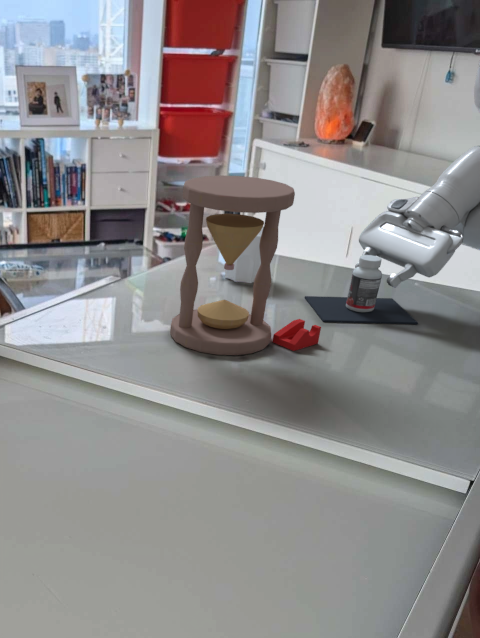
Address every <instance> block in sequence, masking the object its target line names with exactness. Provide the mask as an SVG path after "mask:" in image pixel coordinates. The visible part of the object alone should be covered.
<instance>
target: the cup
mask: <svg viewBox="0 0 480 638" xmlns="http://www.w3.org/2000/svg"><path fill="white" fill-rule="evenodd" d="M263 228H264V225H263V227H262V229H261V231H260V232H259V234H258V235H257V236H256V237H255V238H254V240H253V241H252V242H251V243H250V245H249V246H248V247H247V248H246V249H245V250H244V251H243V253H242V254H241V255H240V256H239V257H238V258H237V260H236V261H235V262H234V263H233V264H234V269H233V270H226V269H224V278H225V279H229V280H231V281H233V282H235V283H238V282H239V283H246V284H252V283H254V279H255V276H256V274H257V272H258V269H259V267H260V265H261V259H260V249H259V244H260V238H261V235H262V231H263Z"/></svg>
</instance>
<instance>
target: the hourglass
mask: <svg viewBox="0 0 480 638" xmlns="http://www.w3.org/2000/svg"><path fill="white" fill-rule="evenodd" d="M295 196H296V192H295V189H294V187H292V186H290V185H288V184H286V183H283V182H279V181H276V180H272V179H267V178H260V177H255V176H252V177H251V176H244V175H243V176H241V175H205V176H198V177H192V178H189V179H186V180H185V181H184V184H183V187H182V198H183V200H184V201H186V202H187V203H188V204H190V205H189V214H188V225H187V230H186V234H185V237H184V245H183V251H184V255H185V256H184V257H185V263H186V264H185V265H186V266H185V269H184V272H183V275H182V277H181V280H180V286H179V294H180V295H179V296H180V306H179V313H178V314H176V315H175V316H173V318H172V319H171V324H170V329H169V335H170V336H171V338H172V339H173V340H174V342H175V343H177V344H179V345H180V346H182V347H184V348H187V349H190V350H193V351H195V352H199V353H203V354H209V355H210V354H211V355H216V356H242V355H249V354H251V355H252V354H254V353H257V352H259V351H263V350H264V349H265V348H267V346H268V345H269V344H270V343H271V340H272V339H271V338H272V328H271V325H269V324H268V323H267V321H265V320H264V319H265V312H266V306H267V305H266V304H267V300H268V297H269V295H270V291H271V287H272V273H271V263H272V261H273V259H274V256H275V254H276V251H277V249H278V244H279V226H280V219H281V213H282V211H284V210H288V209H290V208H291V207H292V206H293V205H294V201H295ZM205 209H210V210H215V211H221V212H232V213H216V214H210V215H208V216H206V218H205V221H206V222H205V223H206V227H207V229H208V231H209V233H210V234H211V238H212V239H213V241H214V244H215V246H216V248H217V249H218V251H219V253H220V255H221V257H222V259H223V260H224V262H225V263H224V264H223V265H224V266H223V270H225V269H226V270H233V269H234V264H233V263H234V262H235V261H236V260H237V258H238V257H239V256H240V255H241V254H242V253H243V251H244V250H245V249H246V248H247V247H248V246H249V245H250V243H251V242H252V241H253V240H254V238H255V237H256V236H257V235H258V234H259V232H260V231H261V229H262V227H263V226H264V228H263V231H262V235H261V238H260V244H259V249H260V259H261V265H260V267H259V269H258V272H257V274H256V276H255V279H254V282H253V284H252V285H253V286H252V288H253V289H252V305H251V311H249V310H248V309H246V308H245V307H242V306H240V305H238V304H235V303H234V302H232V301H229V300H227V299H221V300H217V301H211V302H207V303H204V304H201V305H199V306H198V307H197V309H194V308H195V302H196V298H197V294H198V289H199V278H198V271H197V264H198V261H199V258H200V256H201V253H202V250H203V241H204V237H203V236H204V235H203V232H204V231H203V225H204V215H205V213H204V212H205ZM239 213H245V214H239ZM246 213H249V214H257V213H258V214H260V213H262V214H263V213H265V218H264V220H262V219H261V218H259V217H255V216H251V215H247V214H246Z"/></svg>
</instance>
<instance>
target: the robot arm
mask: <svg viewBox="0 0 480 638" xmlns="http://www.w3.org/2000/svg"><path fill="white" fill-rule="evenodd" d="M473 99H474V105H475V107H476V110H477V111H478V113H479V114H480V59H479V61H478V66H477V70H476V76H475V79H474V87H473ZM386 208H387V209H386V210H385V211H383V212H381V213H380V214H378V215H377V216H376V217H375V218H374V219H373V220H372V221H371V222H370V223H369V224H368V225H367V226H366V227H365V228H364V229H363V231H361V233H360V234H359V236H358V243H359V245H360V246H361V248H362V249H363V251H362V254H361V256H362V255H372V256H377V257H380V258H381V259H382V260H385V261H387V262H391V263H392V264H395V265H398V266H400V267H402V268H403V269H402V270H401V271H398V272H397V273H393V272H392V273H391V275H390V276H389V277H387V278H386V283H387V284H388V286H389V287H392V288H394V289H395V288H397V287H398V286H399V285H400V284H402V283H404V282H405V281H407V280H409V279H412V278H413V277H414V276H415V275H416V274H419V275H420V276H421V275H422V276H424V277H427V278H432V277H435V276H436V275H438V274H439V273H440V272H441V271H442V270H443V268H444V267H445V266H446V265H447V263H448V262H449V261H450V260H451V258H452V257H453V256H454V254H455V252H456V250H457V249H459V247H461V245H462V246H466V247H469V248H471V249H474V250H477V251H480V145H474V146H472V147H470V148H468V149H467V150H466V151H464V152H462V154H461V155H459V156H458V157H457V158H456V159H455V160H454V161H452V162H451V164H449V165H448V166H447V168H446V169H444V171H443V172H441V174H440V175H439V176H438V178H437V180H436V181H435V183H434V184H433V185H432V186H430V187H429V188H427V189H426V190H424V191H423V192H422V194H421V195H420V196H412V197H408V198H396V199H392V200H391V201H390V202H389V203H388V204H387V206H386ZM357 267H359V263H358V262H357V263H355V265H354V269H355V268H357Z"/></svg>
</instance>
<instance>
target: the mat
mask: <svg viewBox="0 0 480 638" xmlns="http://www.w3.org/2000/svg"><path fill="white" fill-rule="evenodd" d="M347 297H348V296H315V295H313V296H312V295H305V296H304V299H305V301H306V302H307V303H308V305H309V306H310V307H311V309H313V311H314V312H315V313H316V315H317V316H318V317H319V319H320V320H321V321H322V323H347V324H351V323H352V324H353V323H354V324H382V325H383V324H388V325H389V324H390V325H419V324H418V323H419V322H418V321H417V320H416V319H415V318H414V317H413V316H412V315H411V314H410V313H409V312H408V311H406V310H405V309H404V307H402V306H401V305H400V304H399V303H398V302H397V301H396V300H395V299H393V297H392V298H390V297H377V299H376V303H375V307H374V310H373V311H371V312H355V311H352V310H350V309H348V308H347V307H346V302H347Z"/></svg>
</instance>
